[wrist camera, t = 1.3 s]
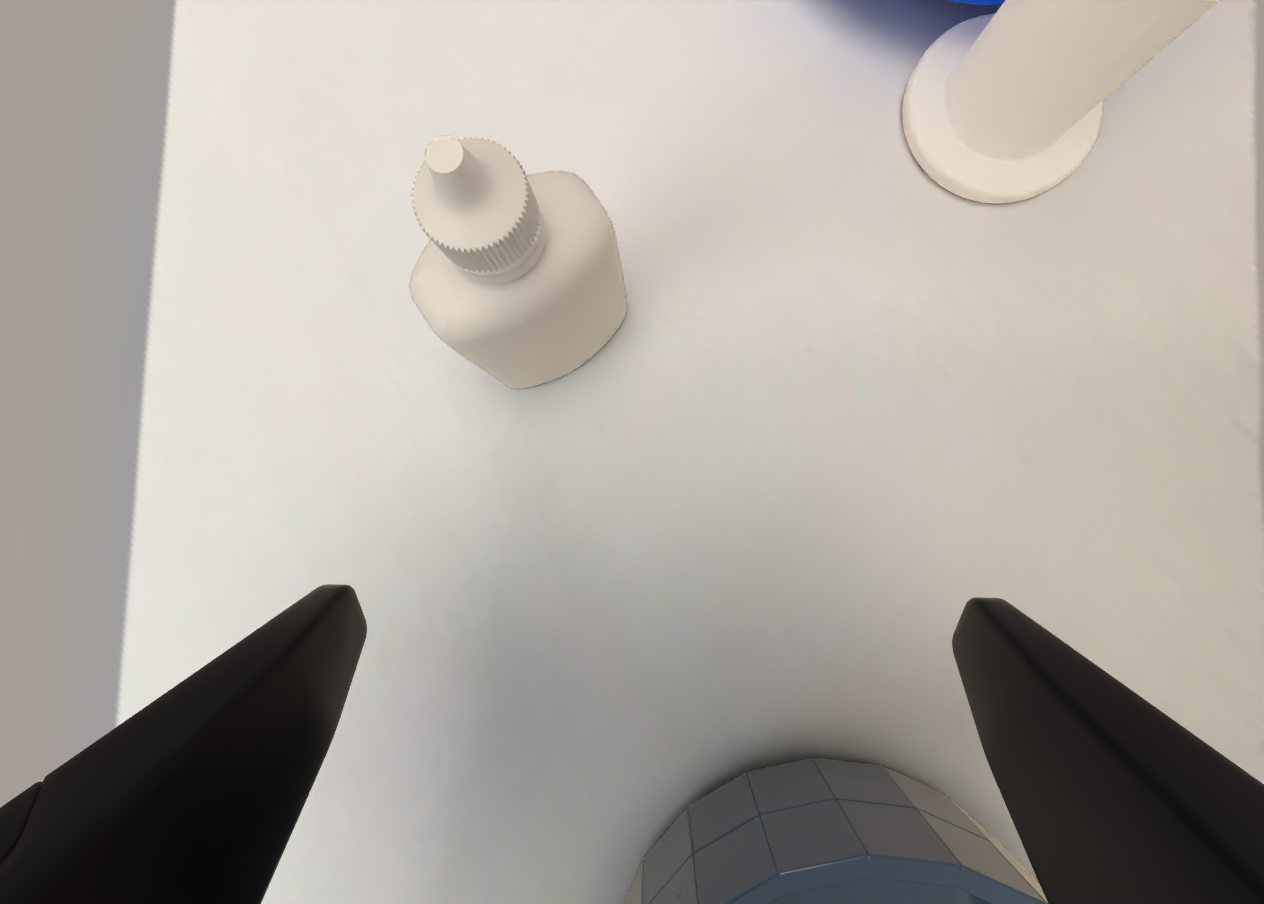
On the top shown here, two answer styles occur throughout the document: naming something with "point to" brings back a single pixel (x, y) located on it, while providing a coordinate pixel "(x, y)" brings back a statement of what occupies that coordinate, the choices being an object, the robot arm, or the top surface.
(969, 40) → the candle
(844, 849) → the bowl
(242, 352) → the top surface
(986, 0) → the vase
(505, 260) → the eye dropper bottle
